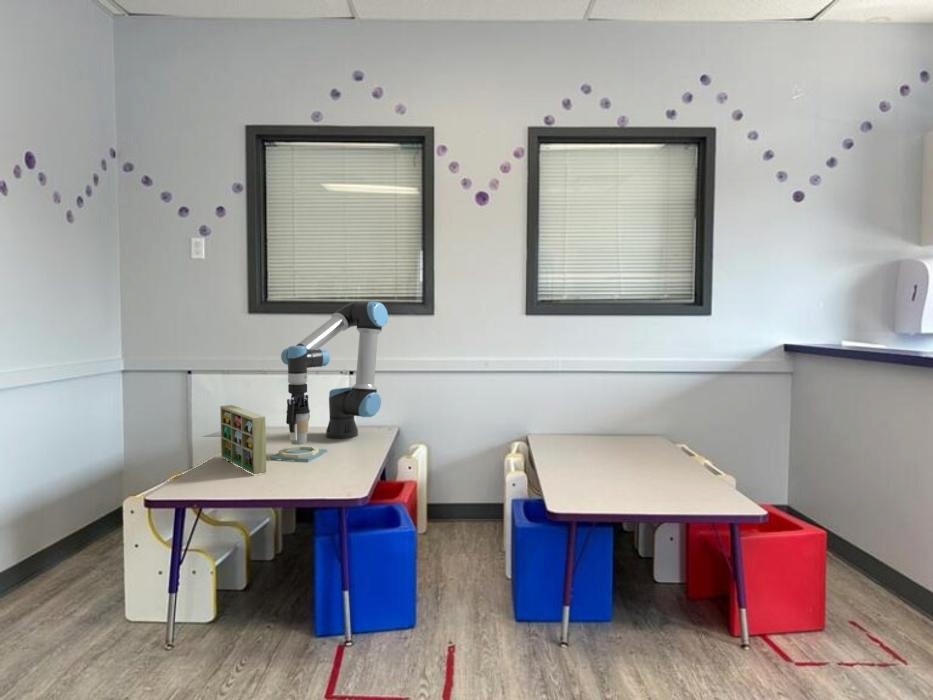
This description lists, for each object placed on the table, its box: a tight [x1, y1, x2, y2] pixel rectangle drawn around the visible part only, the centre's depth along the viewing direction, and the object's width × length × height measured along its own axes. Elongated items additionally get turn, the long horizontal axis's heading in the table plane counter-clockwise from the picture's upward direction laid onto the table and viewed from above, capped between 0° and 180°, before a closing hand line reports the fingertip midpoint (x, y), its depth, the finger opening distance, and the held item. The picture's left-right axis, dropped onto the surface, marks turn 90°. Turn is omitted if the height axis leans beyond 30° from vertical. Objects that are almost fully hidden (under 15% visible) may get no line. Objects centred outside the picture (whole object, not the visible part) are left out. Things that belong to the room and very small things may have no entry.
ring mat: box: [269, 445, 328, 463], centre depth 246 cm, size 17×17×2 cm
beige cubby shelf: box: [219, 404, 267, 474], centre depth 230 cm, size 35×5×22 cm, turn 41°
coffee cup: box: [285, 406, 311, 446], centre depth 245 cm, size 9×9×15 cm
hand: (298, 437), depth 246 cm, fingers closed on coffee cup, 8 cm apart
